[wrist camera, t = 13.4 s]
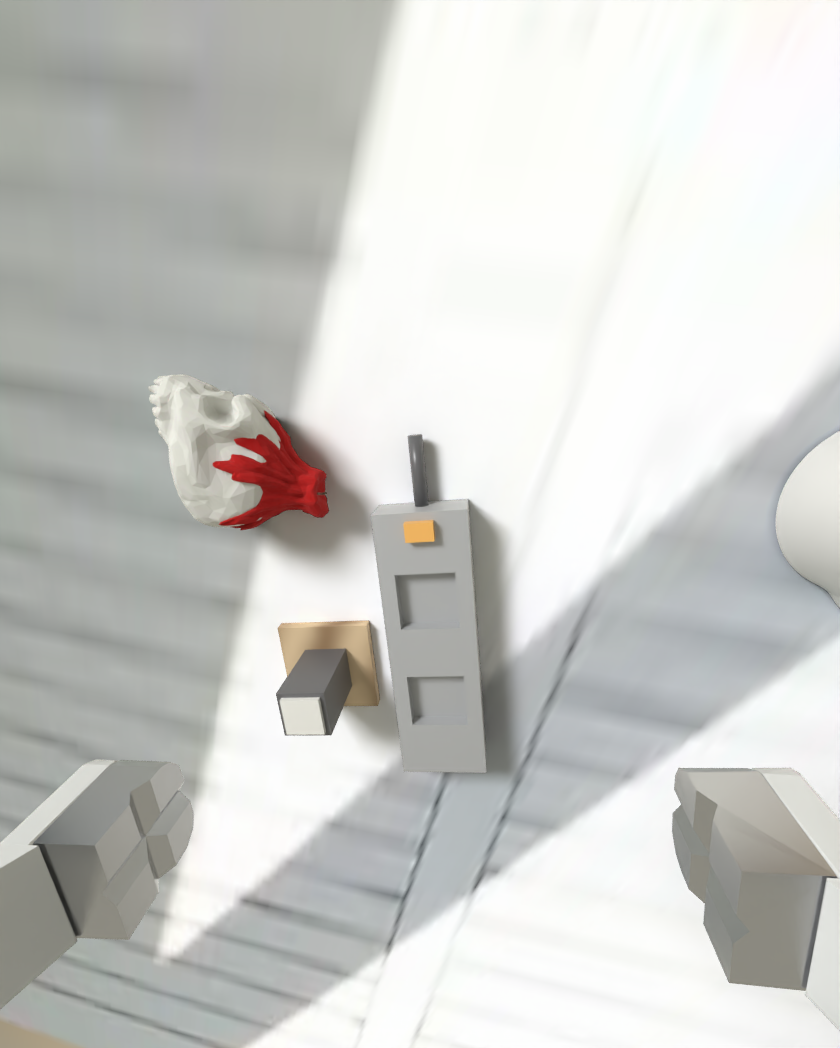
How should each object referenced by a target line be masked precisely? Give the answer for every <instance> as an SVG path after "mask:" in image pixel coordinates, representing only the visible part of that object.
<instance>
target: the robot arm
mask: <svg viewBox="0 0 840 1048" xmlns="http://www.w3.org/2000/svg"><path fill="white" fill-rule="evenodd" d="M776 534H777V539H778V543H779V546H780V548H781V551H782V553H783V555H784V556H785V558H786V560H787V561H788V562H789V564H790V565H791V566H792V567H793V568H794V569H795V570H796V571H797V572H798V573H799V574H800V575H802V576H803V577H804V578H806V579H808V580H809V581H811V582H813V583H815V584H817V585H818V586H820V587H822V588H823V589H825V590H826V591H827V592H829V594H830V595H831V597H832V598H833V600H834V601H835V603H836V604H837V606H838V607H839V608H840V431H838V432H837V433H835V434H834V435H832V436H830V437H829V438H827V439H826V440H824V441H823V442H822V443H820V444H819V445H818V446H817V447H815V448H814V449H813V450H812V451H811V452H810V453H809V454H808V455H807V456H806V457H805V458H804V459H803V460H802V461H801V462H800V463H799V465H798V466H797V467H796V468H795V470H794V471H793V473H792V474H791V476H790V477H789V479H788V481H787V482H786V484H785V486H784V489H783V491H782V493H781V496H780V499H779V502H778V506H777V512H776ZM183 782H184V777H183V774H182V771H181V769H180V766H179V765H178V764H175V763H172V762H157V761H133V760H120V761H116V760H93V761H91V762H89V763H86V764H84V765H83V766H82V767H80V768H79V769H78V770H77V771H76V772H75V773H74V774H73V775H72V776H71V777H70V778H69V779H68V780H67V781H66V782H65V783H63V784H62V785H61V786H60V787H59V788H58V789H57V790H56V791H55V792H54V793H53V794H52V795H51V796H50V797H49V798H48V799H47V800H45V801H44V802H43V803H42V804H41V805H40V806H39V807H38V808H37V809H36V810H35V811H34V812H33V813H32V814H31V815H30V816H29V817H27V818H26V819H25V820H24V821H23V822H22V823H21V824H20V825H19V826H18V827H17V828H16V829H15V830H14V831H13V832H12V833H11V834H9V835H8V836H7V837H6V838H5V839H4V840H3V841H2V842H1V843H0V1009H1V1008H3V1007H4V1006H5V1005H6V1004H7V1003H8V1002H9V1001H10V1000H12V999H13V998H14V997H15V996H16V995H17V994H18V993H20V992H21V991H22V990H23V989H24V988H25V987H26V986H27V985H29V984H30V983H31V982H32V981H33V980H34V979H35V978H37V977H38V976H39V975H40V974H41V973H42V972H43V971H45V970H46V969H47V968H48V967H49V966H50V965H51V964H52V963H54V962H55V961H56V960H57V959H58V958H59V957H60V956H62V955H63V954H64V953H65V952H66V951H67V950H68V949H70V948H71V947H72V946H73V945H74V944H75V943H76V942H77V938H95V939H125V940H129V939H130V937H131V936H132V934H133V933H134V931H135V930H136V928H137V926H138V925H139V923H140V922H141V920H142V919H143V917H144V915H145V914H146V912H147V911H148V909H149V908H150V906H151V904H152V903H153V901H154V900H155V898H156V897H157V895H158V893H159V878H160V877H162V876H163V875H164V874H166V873H167V872H168V871H169V870H171V869H172V868H173V867H175V866H176V865H177V863H178V862H179V860H180V858H181V857H182V855H183V853H184V852H185V850H186V848H187V846H188V843H189V840H190V837H191V833H192V830H193V818H194V813H193V809H192V805H191V801H190V800H189V799H188V798H187V797H186V796H185V795H184V794H183V793H182V792H181V791H180V788H181V786H182V784H183ZM674 790H675V792H676V794H677V796H678V798H679V800H680V802H681V805H680V806H679V807H678V808H677V809H676V811H675V812H674V813H673V823H672V833H673V839H674V845H675V851H676V855H677V859H678V862H679V865H680V868H681V871H682V874H683V876H684V879H685V881H686V883H687V886H688V888H689V890H691V891H692V892H693V893H694V894H695V895H696V896H697V897H698V898H699V899H700V900H702V901H703V902H704V903H705V911H704V923H703V924H704V926H705V928H706V931H707V933H708V935H709V938H710V940H711V942H712V945H713V947H714V949H715V952H716V954H717V956H718V959H719V961H720V963H721V966H722V968H723V970H724V973H725V975H726V977H727V980H728V982H729V983H735V984H745V985H755V986H765V987H774V988H784V989H794V990H803V991H806V993H805V995H806V996H807V997H808V999H809V1000H810V1001H811V1002H812V1003H813V1004H814V1005H815V1006H816V1007H817V1008H818V1009H819V1010H820V1011H821V1012H822V1013H823V1014H824V1015H825V1016H826V1017H827V1018H828V1019H829V1020H830V1021H831V1022H832V1023H833V1024H834V1025H835V1027H836V1028H837V1029H838V1030H839V1031H840V820H839V819H838V818H837V816H836V815H835V814H834V813H833V812H832V811H831V809H830V808H829V807H828V806H827V805H826V803H825V802H824V801H823V800H822V799H821V798H820V796H819V795H818V794H817V793H816V792H815V791H814V789H813V788H812V787H811V786H810V785H809V784H808V782H807V781H806V780H805V779H804V778H803V776H802V775H801V774H800V773H798V772H797V771H795V770H793V769H792V768H752V769H748V768H679V769H678V771H677V773H676V775H675V786H674Z"/></svg>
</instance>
